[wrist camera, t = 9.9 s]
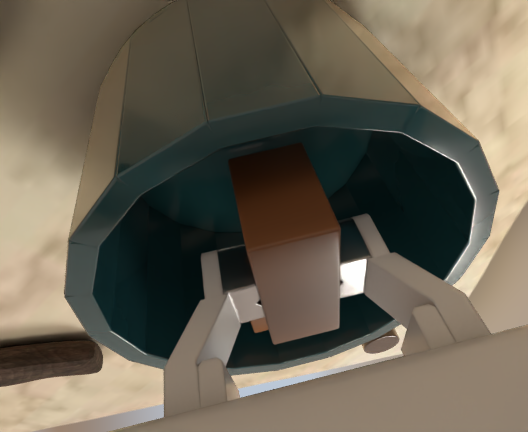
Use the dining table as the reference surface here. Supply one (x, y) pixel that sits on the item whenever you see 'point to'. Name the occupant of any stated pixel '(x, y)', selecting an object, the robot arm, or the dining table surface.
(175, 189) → the pot
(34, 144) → the dining table surface
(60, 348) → the cleaver
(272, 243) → the brown stepped bar
